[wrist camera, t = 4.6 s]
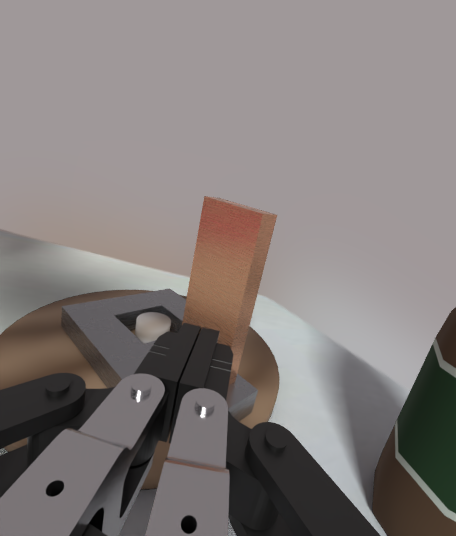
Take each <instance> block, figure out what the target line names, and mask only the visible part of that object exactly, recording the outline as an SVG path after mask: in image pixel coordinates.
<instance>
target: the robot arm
mask: <svg viewBox="0 0 456 536" xmlns="http://www.w3.org/2000/svg"><path fill="white" fill-rule="evenodd" d="M219 333H220V331H218V330H214V329H210V328H205V327H202V329H201V326H197V325H193V324H189V323H185V322H184V323H183V325H182V326H181V328H180V330H179V332H178V333H173V332H169V331H168V332H166V333H164V334H162V335H161V336H159V337H158V338H157V340H156V341H155V343H154V345H153V346H152V347H151V349H150V350H149V352H148V353H147V355H146V356H145V358H144V359H143V361H142V362H141V364H140V365H139V367H138V368H137V370H136V371H135V373H134V374H133V375H130V376H127V377H126V378H124V379H122V380H121V381H120V382H119V383H118V385H117V386H116V387H112V388H103V389H86V384H85V381H84V380H83V379H82V378H81V377H80V376H78V375H76V374H72V373H56V374H51V375H48V376H44V377H41V378H38V379H35V380H31V381H28V382H25V383H21V384H18V385H15V386H12V387H8V388H5V389H2V390H0V449H1V448H3V447H6V446H8V445H10V444H13V443H15V442H18V441H20V440H22V439H25V438H27V444H26V445H24V446H22V447H20V448H17V449H15V450H13V451H10V452H8V453H6V454H3V455H1V456H0V536H119V534H120V532H121V529H122V527H123V525H124V523H125V521H126V518H127V516H128V514H129V512H130V510H131V508H132V506H133V504H134V502H135V500H136V498H137V495H138V493H139V491H140V489H141V487H142V485H143V483H144V481H145V479H146V477H147V474H148V472H149V470H150V468H151V466H152V463H153V458H154V452H155V448H156V446H157V443H158V441H163V442H167V440H168V437H169V434H170V438H169V443H170V448H169V452H168V455H167V457H166V458H165V462H164V465H163V469H162V473H161V476H160V480H159V484H158V488H157V492H156V495H155V499H154V503H153V507H152V511H151V514H150V518H149V522H148V526H147V530H146V533H145V536H228V514H229V519H230V523H231V525H232V527H233V529H234V531H235V533H236V535H237V536H380V535H379V533H378V532H377V531H376V530H375V529H374V528H373V526H372V525H371V524H370V523H369V522H368V521H367V520H366V518H365V517H364V516H363V515H362V514H361V513H360V511H359V510H358V509H357V508H356V507H355V506H354V505H353V503H352V502H351V501H350V500H349V499H348V498H347V496H346V495H345V494H344V493H343V492H342V491H341V490H340V488H339V487H338V486H337V485H336V484H335V483H334V481H333V480H332V479H331V478H330V477H329V476H328V475H327V473H326V472H325V471H324V470H323V469H322V468H321V466H320V465H319V464H318V463H317V462H316V461H315V460H314V458H313V457H312V456H311V455H310V454H309V453H308V451H307V450H306V449H305V448H304V447H303V446H302V445H301V443H300V442H299V441H298V440H297V439H296V438H295V436H294V435H293V434H292V433H291V432H290V431H288V430H287V429H286V428H284V427H283V426H281V425H278V424H276V423H271V422H262V423H259V424H257V425H255V426H254V427H253V428H252V429H251V428H249V427H247V426H245V425H244V424H242V423H240V422H239V421H237V420H236V419H235V418H234V417H233V416H232V415H231V413H230V412H229V410H228V405H227V402H226V398H227V392H228V386H229V380H230V374H231V367H232V361H233V355H234V354H233V352H232V350H231V348H230V346H228V345H223V344H219V343H217V342H218V338H219Z"/></svg>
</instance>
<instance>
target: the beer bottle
mask: <svg viewBox="0 0 456 536" xmlns="http://www.w3.org/2000/svg"><path fill="white" fill-rule="evenodd" d="M372 509H373V514H374V516H375V517H376V519H377V520H378V522H379V523H380V525H381V526H382V528H383V529H384V531H385V532H386V534H387V535H388V536H456V308H454V309H453V310H452V311H451V313H450V314H449V316H448V318H447V319H446V321H445V323H444V324H443V326H442V328H441V330H440V331H439V333H438V334H437V336H436V338H435V340H434V342H433V345H432V346H431V348H430V351H429V353H428V355H427V357H426V359H425V361H424V364H423V366H422V368H421V370H420V372H419V374H418V376H417V378H416V380H415V383H414V385H413V387H412V389H411V391H410V393H409V395H408V398H407V400H406V402H405V404H404V406H403V408H402V410H401V412H400V415H399V417H398V419H397V421H396V423H395V425H394V427H393V430H392V432H391V434H390V436H389V438H388V440H387V442H386V445H385V447H384V449H383V451H382V454H381V456H380V459H379V462H378V464H377V467H376V470H375V476H374V492H373V508H372Z"/></svg>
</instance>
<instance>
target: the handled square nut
mask: <svg viewBox="0 0 456 536" xmlns="http://www.w3.org/2000/svg"><path fill="white" fill-rule="evenodd" d="M276 217H277V215H275V214H271V213H268V212H265V211H262V210H258V209H255V208H251V207H248V206H245V205H241V204H237V203H234V202H231V201H228V200H224V199H221V198H214V197H206V196H205V197H204V202H203V208H202V213H201V219H200V225H199V230H198V237H197V243H196V248H195V253H194V259H193V265H192V271H191V276H190V282H189V288H188V293H187V299H184V298H183V297H181V296H180V295H178V294H177V293H175V292H174V291H172V290H171V289H165V290H159V291H153V292H146V293H140V294H134V295H128V296H122V297H116V298H109V299H103V300H97V301H91V302H85V303H79V304H72V305H66V306H62V316H61V327H62V328H63V329H64V331H65V332H66V333H67V335H68V336H69V337H70V339H71V340H72V342H73V343H74V344H75V346H76V347H77V348H78V350H79V351H80V352H81V354H82V355H83V356H84V358H85V359H86V360H87V362H88V363H89V364H90V366H91V367H92V368H93V370H94V371H95V372H96V374H97V375H98V376H99V378H100V379H101V380H102V382H103V383H104V384H105V386H106V387H107V388H112V387H116V386H117V385H118V383H119V382H120V381H121V380H122V379H124V378H126V377H127V376H130V375H133V374H134V373H135V371H136V370H137V368H138V367H139V365H140V364H141V362H142V361H143V359H144V358H145V356H146V355H147V353H148V352H149V350H150V349H151V347H152V346H153V345H154V343H155V341H156V340H155V341H151V342H148V343H145V344H143V343H142V342H141V341H140V340H139V339H138V338H137V337H136V336H135V335H134V334H133V333H132V332H131V331H130V330H133V329H136V320H137V317H138V316H139V315H140V314H143V313H147V312H157V313H161V314H164V315H166V316H168V317H169V318H170V320H171V326H170V332H173V333H178V332H179V330H180V328H181V326H182V325H183V323H184V322H185V323H189V324H193V325H197V326H201V329H202V327H205V328H210V329H214V330H218V331H220V333H219V338H218V342H217V343H219V344H223V345H228V346H230V348H231V350H232V352H233V354H234V355H233V361H232V367H231V374H230V380H229V386H228V392H227V398H226V402H227V405H228V410H229V412H230V413H231V415H232V416H233V417H234V418H235V419H236V420H237V421H241V420H242V419H243V418H245V417H246V416H248V415H249V414H251V413H252V410H253V407H254V403H255V400H256V396H257V393H258V389H256V388H255V387H254V386H252V385H251V384H250V383H249V382H247V381H246V380H245V379H244V378H242V377H241V376H240V375H239V374H237V373H238V369H239V365H240V361H241V357H242V353H243V349H244V345H245V341H246V337H247V333H248V329H249V325H250V321H251V317H252V313H253V309H254V305H255V301H256V297H257V293H258V289H259V285H260V281H261V277H262V273H263V269H264V265H265V261H266V257H267V253H268V249H269V245H270V241H271V237H272V234H273V230H274V226H275V222H276Z"/></svg>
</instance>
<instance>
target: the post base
mask: <svg viewBox="0 0 456 536" xmlns="http://www.w3.org/2000/svg"><path fill="white" fill-rule="evenodd" d="M146 292H153V291H147V290H112V291H102V292H94V293H88V294H82V295H78V296H73V297H69V298H66V299H63V300H59V301H56V302H53V303H51V304H48V305H46V306H43V307H41V308H39V309H37V310H35V311H33V312H31V313H29V314H27V315H25V316H24V317H22V318H21V319H19V320H17V321H16V322H15V323H13V324H12V325H11V326H10V327H8V328H7V329H6V330H5V331H4V332H3V333H2V334H1V335H0V390H2V389H5V388H8V387H12V386H15V385H18V384H21V383H25V382H28V381H31V380H35V379H38V378H41V377H44V376H48V375H51V374H56V373H72V374H76V375H78V376H80V377H81V378H82V379H83V380H84V381H85V384H86V389H103V388H107V387H106V386H105V384H104V383H103V382H102V380H101V379H100V378H99V376H98V375H97V374H96V372H95V371H94V370H93V368H92V367H91V366H90V364H89V363H88V362H87V360H86V359H85V358H84V356H83V355H82V354H81V352H80V351H79V350H78V348H77V347H76V346H75V344H74V343H73V342H72V340H71V339H70V337H69V336H68V335H67V333H66V332H65V331H64V329H63V328H62V327H61V316H62V306H66V305H72V304H79V303H85V302H91V301H97V300H103V299H109V298H116V297H122V296H128V295H134V294H140V293H146ZM180 296H181V295H180ZM181 297H183V298H184V299H187V297H186V296H181ZM170 326H171V320H170V318H169V317H168V316H166V315H164V314H161V313H157V312H147V313H143V314H140V315H139V316H138V317H137V320H136V329H133V330H130V331H131V332H132V333H133V334H134V335H135V336H136V337H137V338H138V339H139V340H140V341H141V342H142V343H143V344H145V343H148V342H151V341H155V340H157V338H158V337H159V336H161V335H162V334H164V333H166V332H168V331H169V332H170ZM237 374H239V375H240V376H241V377H242V378H244V379H245V380H246V381H247V382H249V383H250V384H251V385H252V386H254V387H255V388H256V389H258V393H257V396H256V400H255V403H254V407H253V410H252V413H251V414H249V415H248V416H246V417H245V418H243V419H242V420H241V421H239V422H240V423H242V424H244V425H245V426H247V427H249V428H251V429H252V428H253V427H254V426H255V425H257V424H259V423H262V422H268V421H269V419H270V417H271V414H272V411H273V408H274V405H275V401H276V398H277V394H278V390H279V372H278V366H277V363H276V360H275V358H274V355H273V354H272V352H271V350H270V348H269V347H268V345H267V344H266V343H265V341H264V340H263V339H262V338H261V337H260V336H259V335H258V333H257V332H256V331H255V330H253V329H252V328H251V327H250V326H249V329H248V333H247V337H246V341H245V345H244V349H243V353H242V357H241V361H240V365H239V369H238V373H237ZM169 438H170V434H169V437H168V440H167V442H163V441H158V443H157V446H156V448H155V452H154V458H153V463H152V466H151V468H150V470H149V472H148V474H147V477H146V479H145V481H144V483H143V485H142V487H141V489H154V488H158V484H159V480H160V476H161V473H162V469H163V465H164V462H165V458H166V457H167V455H168V452H169V448H170V443H169ZM26 444H27V438H25V439H22V440H20V441H18V442H15V443H13V444H10V445H8V446H6V447H3V448H4V449H6V450H7V451H8V452H10V451H13V450H15V449H17V448H20V447H22V446H24V445H26ZM141 489H140V490H141Z"/></svg>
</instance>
